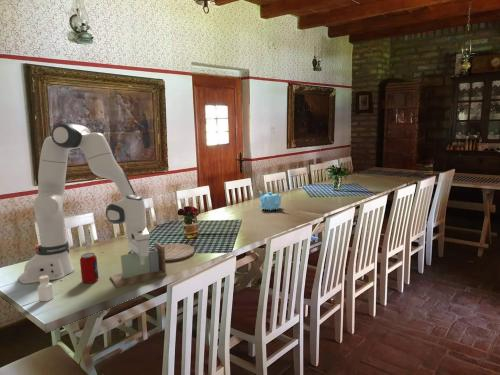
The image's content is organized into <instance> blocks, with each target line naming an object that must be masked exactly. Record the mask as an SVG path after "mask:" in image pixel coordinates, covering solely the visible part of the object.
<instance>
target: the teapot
mask: <svg viewBox="0 0 500 375" xmlns="http://www.w3.org/2000/svg"><path fill="white" fill-rule="evenodd" d="M259 194H260V196H259V200H260V202H259V206H260V208H261V209H262V210H263V209H266V210H268V211H269V210H272V211H273V210H275V209H278V210H279V208H280V207H281V203H282V196H283V195H282V194H281V195H279V194H278V193H273V192H272V191H270V192H269V191H268V192H267V193H266V194H263V192H262V191H261V190H259Z"/></svg>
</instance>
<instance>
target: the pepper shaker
mask: <svg viewBox="0 0 500 375" xmlns="http://www.w3.org/2000/svg"><path fill="white" fill-rule="evenodd" d="M39 279H40V282H39V285H38V286H37V294H38V301H40V302H49V301H51V300H52V299H54V296H55V295H54V288H53V283H52V282H49V281H50V280H49V277H48V276H47V275H45V276H41V277H39Z"/></svg>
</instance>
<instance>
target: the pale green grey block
mask: <svg viewBox="0 0 500 375" xmlns="http://www.w3.org/2000/svg"><path fill="white" fill-rule="evenodd" d="M152 248H153V249H151V248H149V255H148V256H147V257H145V260H144V265H140V263H139V260H140V258H139V256H138V255H137V254H136V253H126V254H123V255H120V263H121V273H122V277H123V278H124V279H125V278H129V277H133V276H137V275H142V274H146V273H150V272H151V273H153V272H157V271H159V260H158V250H157V249H156V248H154V247H152Z"/></svg>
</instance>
